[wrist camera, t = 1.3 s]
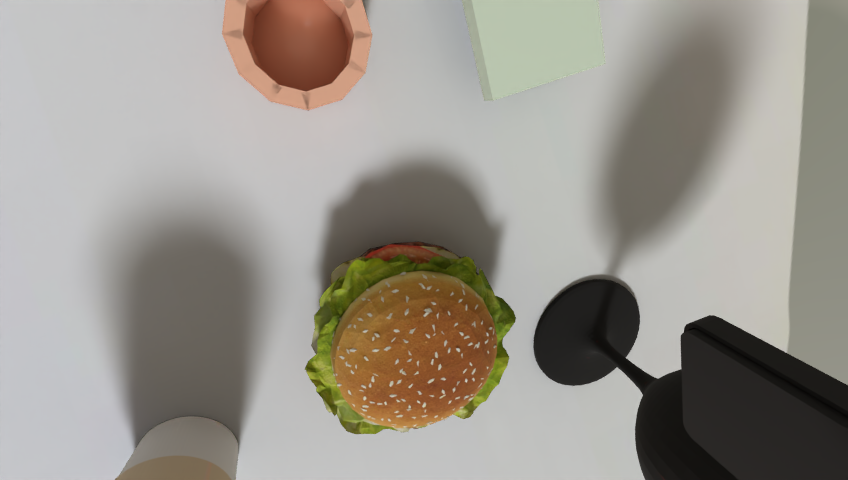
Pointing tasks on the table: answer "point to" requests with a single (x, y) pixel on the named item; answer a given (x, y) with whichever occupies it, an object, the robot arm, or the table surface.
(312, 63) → the ramekin
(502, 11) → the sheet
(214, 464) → the coffee cup
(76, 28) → the table surface
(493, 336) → the food
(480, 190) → the table surface
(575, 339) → the wine glass
